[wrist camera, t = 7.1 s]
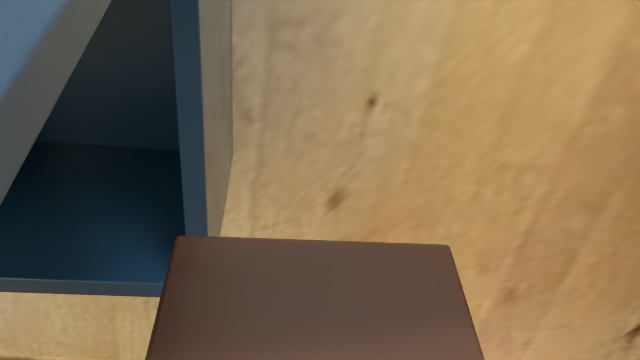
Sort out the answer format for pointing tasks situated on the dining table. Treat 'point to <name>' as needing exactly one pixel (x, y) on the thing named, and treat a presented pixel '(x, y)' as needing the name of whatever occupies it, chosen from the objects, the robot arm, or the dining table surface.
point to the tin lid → (37, 68)
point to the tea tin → (126, 155)
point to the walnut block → (311, 302)
